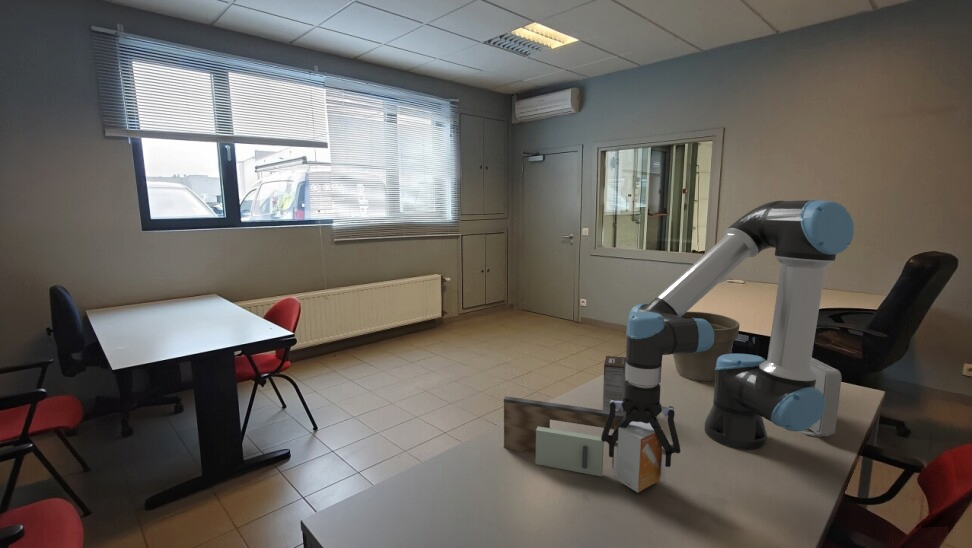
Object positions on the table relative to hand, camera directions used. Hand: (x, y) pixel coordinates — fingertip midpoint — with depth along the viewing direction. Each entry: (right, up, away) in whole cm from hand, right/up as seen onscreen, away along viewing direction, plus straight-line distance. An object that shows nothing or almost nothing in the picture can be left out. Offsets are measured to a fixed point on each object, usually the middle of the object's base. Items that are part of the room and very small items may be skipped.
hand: (638, 473), depth 103 cm
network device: (+58, +2, +30) cm, 65 cm away
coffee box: (+5, +3, +39) cm, 39 cm away
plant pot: (+45, +8, +66) cm, 81 cm away
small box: (0, -2, 0) cm, 2 cm away
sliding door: (-15, -2, +6) cm, 16 cm away
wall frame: (-14, -1, +12) cm, 18 cm away
